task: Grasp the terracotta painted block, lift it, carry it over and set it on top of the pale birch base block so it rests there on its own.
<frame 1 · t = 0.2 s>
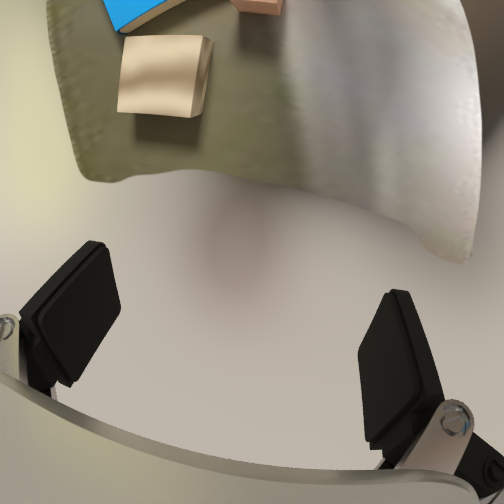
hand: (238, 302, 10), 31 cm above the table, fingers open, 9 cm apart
base: (172, 74, 33), on the table
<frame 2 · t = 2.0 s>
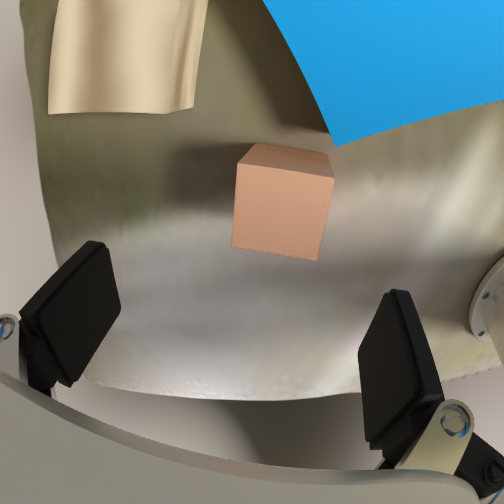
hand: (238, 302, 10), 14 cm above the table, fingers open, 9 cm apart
base: (141, 44, 17), on the table
block: (287, 181, 21), on the table
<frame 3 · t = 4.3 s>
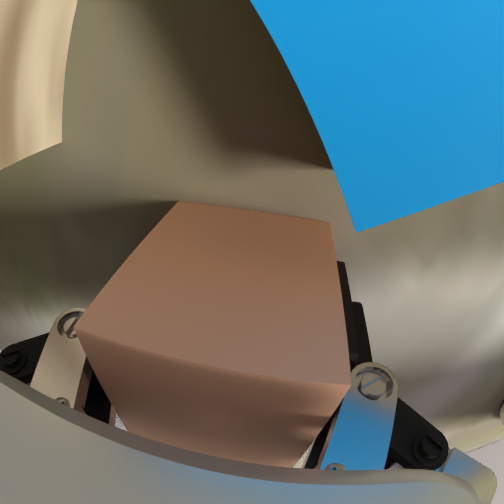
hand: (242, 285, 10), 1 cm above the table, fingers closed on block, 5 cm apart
base: (5, 38, 7), on the table
block: (246, 273, 11), on the table, touching gripper
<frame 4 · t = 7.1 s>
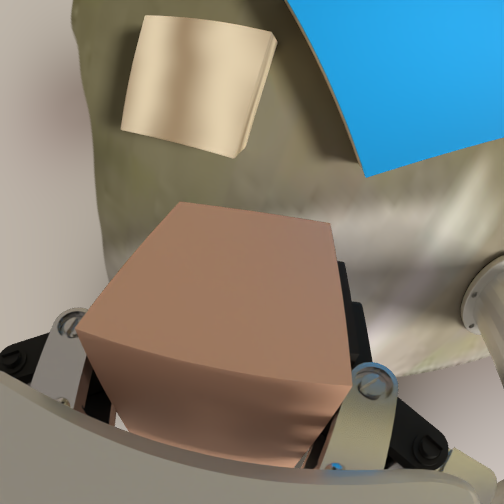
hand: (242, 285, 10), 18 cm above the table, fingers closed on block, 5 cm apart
base: (207, 81, 23), on the table
block: (246, 274, 11), point 17 cm above the table, touching gripper
book: (443, 48, 17), on the table
when the fingers open (7 cm above the table, at t = 10.4 s): block drops 2 cm, point 5 cm above the table.
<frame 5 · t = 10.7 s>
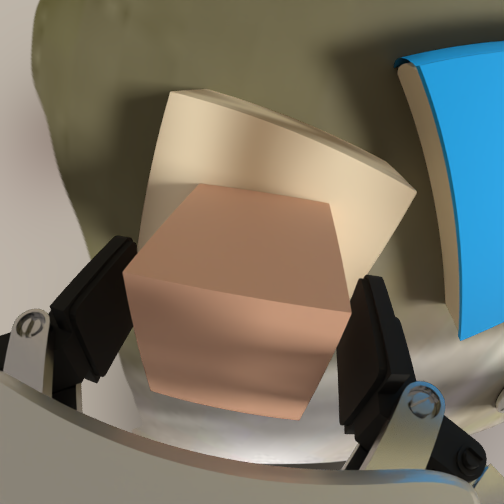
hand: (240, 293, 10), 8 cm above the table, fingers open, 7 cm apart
base: (265, 202, 17), on the table
block: (256, 248, 12), point 5 cm above the table
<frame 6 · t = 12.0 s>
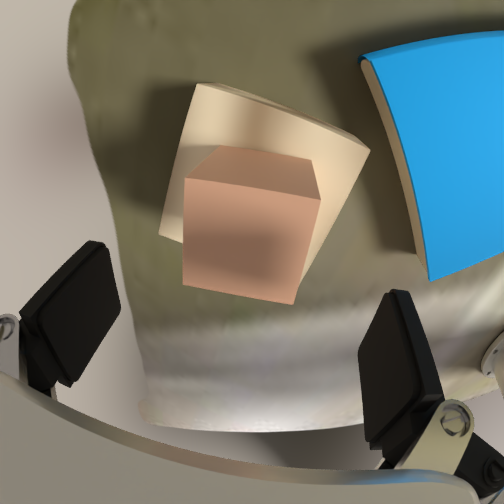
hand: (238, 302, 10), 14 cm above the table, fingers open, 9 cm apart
base: (262, 168, 21), on the table
block: (259, 193, 17), point 5 cm above the table
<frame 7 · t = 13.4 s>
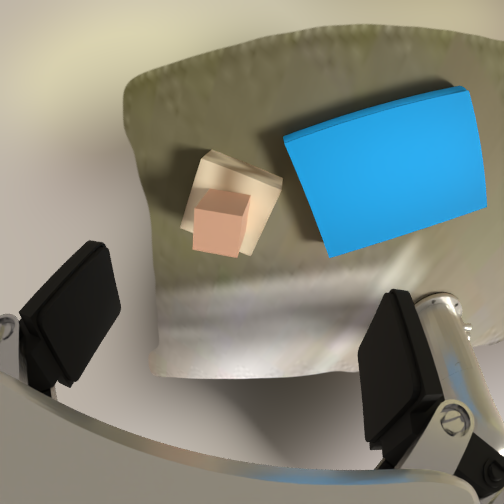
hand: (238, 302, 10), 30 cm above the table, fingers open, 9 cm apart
base: (234, 195, 41), on the table, touching block
block: (228, 210, 36), point 5 cm above the table, touching base
book: (393, 163, 35), on the table
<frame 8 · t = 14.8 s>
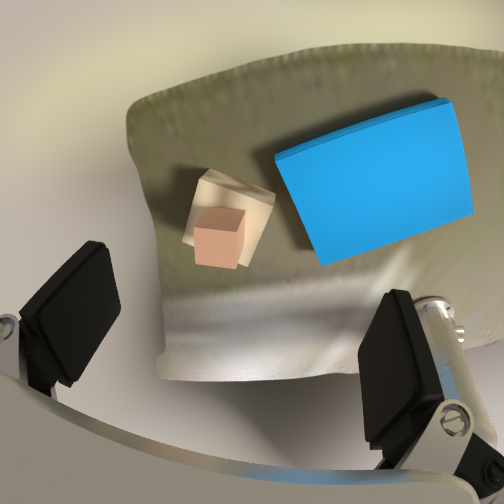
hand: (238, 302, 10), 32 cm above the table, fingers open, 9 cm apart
base: (232, 210, 44), on the table, touching block
block: (226, 225, 40), point 5 cm above the table, touching base
book: (380, 175, 38), on the table
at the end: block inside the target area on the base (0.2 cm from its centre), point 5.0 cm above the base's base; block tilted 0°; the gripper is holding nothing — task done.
